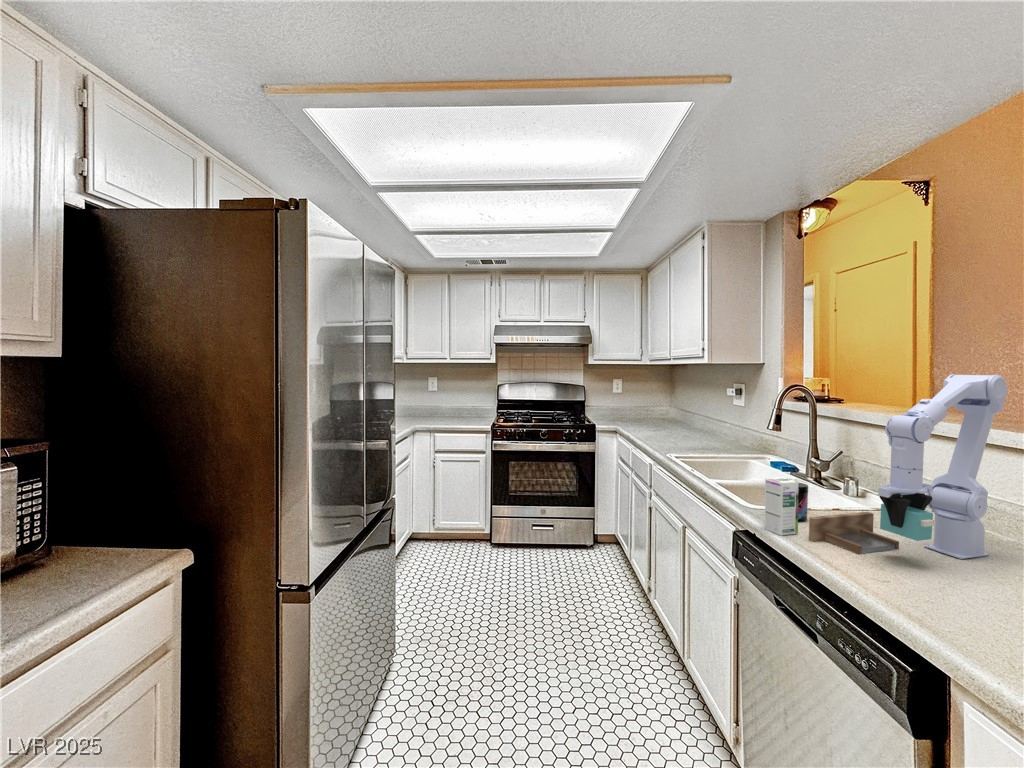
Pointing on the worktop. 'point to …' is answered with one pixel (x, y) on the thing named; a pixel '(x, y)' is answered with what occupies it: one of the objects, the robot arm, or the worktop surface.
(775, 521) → the syrup box
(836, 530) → the wooden tray
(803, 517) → the supplement container
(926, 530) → the cabinet block
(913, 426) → the robot arm
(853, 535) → the grey flat plate
